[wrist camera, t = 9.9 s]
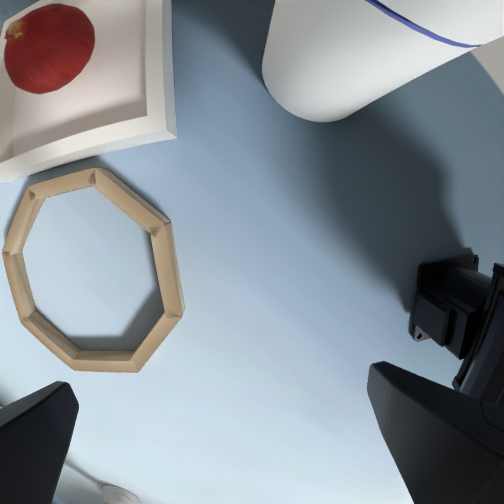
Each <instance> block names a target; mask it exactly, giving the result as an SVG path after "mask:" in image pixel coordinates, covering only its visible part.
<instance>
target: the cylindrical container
mask: <svg viewBox="0 0 504 504" xmlns="http://www.w3.org/2000/svg"><path fill="white" fill-rule="evenodd" d="M502 36H504V0H275V5H274V9H273V14H272V18H271V23H270V27H269V32H268V37H267V41H266V46H265V51H264V56H263V61H262V76H263V79H264V83H265V85H266V87H267V89H268V91H269V93H270V94H271V96H272V97H273V98H274V99H275V101H276V102H277V103H278V104H279V105H281V106H282V107H283V108H284V109H285V110H287V111H288V112H290V113H292V114H294V115H295V116H297V117H300V118H303V119H305V120H309V121H314V122H332V121H337V120H340V119H343V118H346V117H347V116H349V115H351V114H352V113H354V112H356V111H357V110H359V109H361V108H363V107H364V106H366V105H368V104H369V103H371V102H373V101H375V100H377V99H378V98H380V97H382V96H384V95H385V94H387V93H389V92H391V91H393V90H394V89H396V88H398V87H400V86H402V85H404V84H405V83H407V82H409V81H411V80H413V79H415V78H417V77H418V76H420V75H422V74H424V73H426V72H428V71H430V70H432V69H434V68H436V67H438V66H440V65H442V64H444V63H446V62H448V61H450V60H452V59H454V58H456V57H458V56H460V55H462V54H464V53H466V52H468V51H470V50H473V49H475V48H477V47H479V46H481V45H482V44H486V43H488V42H490V41H492V40H495V39H497V38H500V37H502Z"/></svg>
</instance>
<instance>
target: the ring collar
mask: <svg viewBox="0 0 504 504" xmlns="http://www.w3.org/2000/svg"><path fill="white" fill-rule="evenodd" d="M92 186H93V187H94V188H96V189H97V190H98V191H99V192H100V193H101V194H103V195H104V196H105V197H106V198H107V199H109V200H110V201H111V202H112V203H113V204H115V205H116V206H117V207H118V208H119V209H121V210H122V211H123V212H124V213H125V214H127V215H128V216H129V217H130V218H132V219H133V220H134V221H135V222H136V223H138V224H139V225H140V226H141V227H143V228H144V229H145V230H146V231H148V232H149V233H150V234H151V241H152V247H153V253H154V259H155V264H156V270H157V275H158V281H159V286H160V291H161V296H162V300H163V305H164V310H165V311H164V312H163V314H162V315H161V316H160V318H159V319H158V320H157V322H156V323H155V324H154V326H153V327H152V328H151V330H150V331H149V332H148V334H147V335H146V337H145V338H144V339H143V341H142V342H141V343H140V345H139V346H138V347H137V349H136V350H135V351H87V350H80V349H79V348H78V347H77V346H75V345H74V344H73V343H72V342H71V341H69V340H68V339H67V338H66V337H65V336H64V335H62V334H61V333H60V332H59V331H58V330H57V329H56V328H54V327H53V326H52V325H51V324H50V323H49V322H48V321H47V320H46V319H45V318H44V317H43V316H41V315H40V314H39V313H38V312H37V310H36V307H35V303H34V300H33V296H32V293H31V289H30V285H29V281H28V277H27V273H26V269H25V265H24V260H23V255H22V249H23V247H24V244H25V242H26V239H27V237H28V234H29V232H30V230H31V227H32V225H33V223H34V221H35V219H36V216H37V214H38V212H39V210H40V208H41V206H42V204H43V202H44V200H45V198H47V197H51V196H55V195H59V194H62V193H66V192H70V191H75V190H79V189H83V188H87V187H92ZM2 255H3V260H4V265H5V269H6V273H7V278H8V281H9V285H10V289H11V293H12V296H13V300H14V303H15V306H16V310H17V313H18V316H19V319H20V322H21V324H22V325H23V326H24V327H25V328H26V329H27V330H28V331H30V332H31V333H32V334H33V335H34V336H35V337H36V338H37V339H38V340H39V341H40V342H41V343H42V344H43V345H44V346H46V347H47V348H48V349H49V350H50V351H51V352H52V353H53V354H55V355H56V356H57V357H58V358H59V359H60V360H62V361H63V362H64V363H65V364H66V365H68V366H69V367H70V368H71V369H74V370H77V371H94V372H125V373H138V372H139V371H140V370H141V369H142V367H143V366H144V365H145V363H146V362H147V361H148V360H149V358H150V357H151V356H152V354H153V353H154V352H155V351H156V349H157V348H158V347H159V346H160V344H161V343H162V342H163V341H164V339H165V338H166V337H167V335H168V334H169V333H170V332H171V330H172V329H173V328H174V327H175V325H176V324H177V323H178V322H179V320H180V319H181V317H182V315H183V313H184V310H185V303H184V298H183V292H182V287H181V281H180V275H179V270H178V263H177V257H176V251H175V244H174V238H173V231H172V224H171V222H170V220H169V219H167V218H166V217H165V216H164V215H162V214H161V213H160V212H159V211H157V210H156V209H155V208H154V207H152V206H151V205H150V204H149V203H147V202H146V201H145V200H144V199H142V198H141V197H140V196H139V195H137V194H136V193H135V192H134V191H132V190H131V189H130V188H129V187H127V186H126V185H125V184H124V183H123V182H121V181H120V180H119V179H118V178H116V177H115V176H114V175H113V174H111V173H110V172H109V171H108V170H107V169H104V168H95V167H94V168H90V169H86V170H82V171H79V172H75V173H71V174H67V175H64V176H60V177H57V178H53V179H50V180H47V181H43V182H40V183H37V184H34V185H31V186H29V187H28V188H27V190H26V192H25V194H24V196H23V198H22V201H21V203H20V205H19V208H18V210H17V212H16V215H15V217H14V220H13V222H12V225H11V227H10V230H9V233H8V235H7V238H6V241H5V244H4V246H3V249H2Z"/></svg>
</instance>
